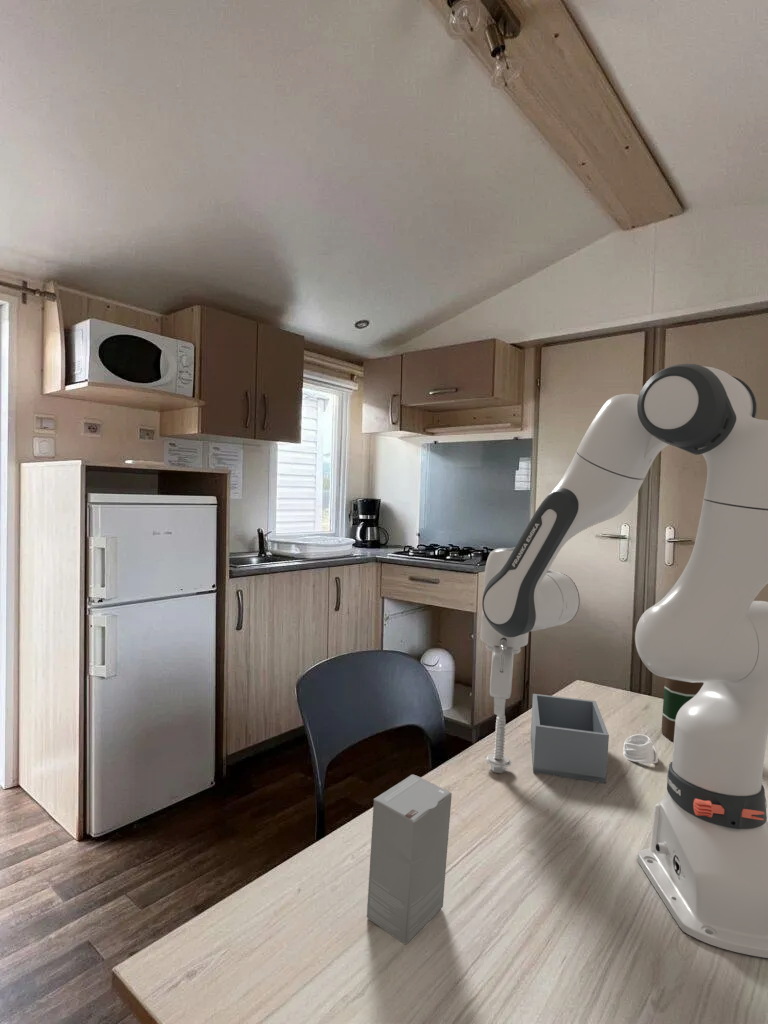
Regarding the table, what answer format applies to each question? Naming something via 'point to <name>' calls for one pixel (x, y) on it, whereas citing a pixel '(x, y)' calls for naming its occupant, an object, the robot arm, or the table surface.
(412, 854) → the skincare box
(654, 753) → the white crumpled ring
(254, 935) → the table surface
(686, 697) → the beer bottle
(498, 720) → the screw
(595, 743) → the tote
